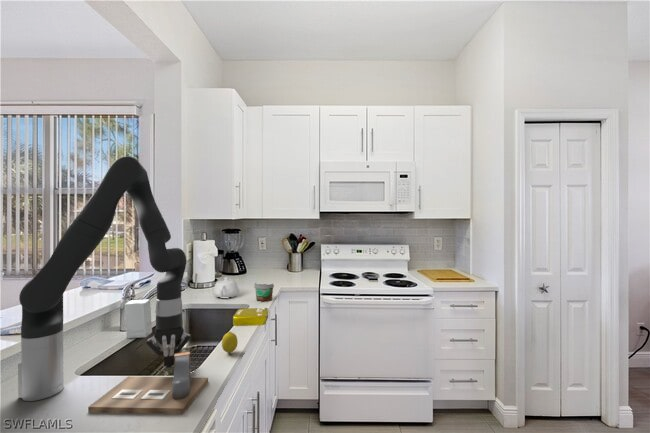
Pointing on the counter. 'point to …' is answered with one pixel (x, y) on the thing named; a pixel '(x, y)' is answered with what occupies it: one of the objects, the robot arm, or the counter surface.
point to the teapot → (226, 288)
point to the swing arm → (181, 376)
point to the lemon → (229, 342)
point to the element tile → (250, 317)
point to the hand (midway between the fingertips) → (169, 366)
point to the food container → (264, 292)
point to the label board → (147, 396)
